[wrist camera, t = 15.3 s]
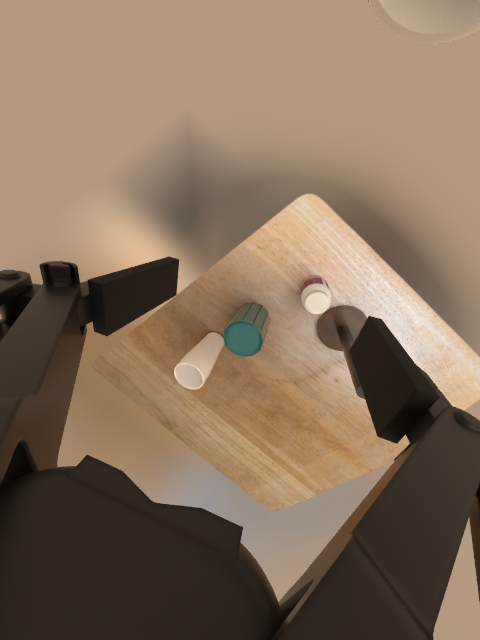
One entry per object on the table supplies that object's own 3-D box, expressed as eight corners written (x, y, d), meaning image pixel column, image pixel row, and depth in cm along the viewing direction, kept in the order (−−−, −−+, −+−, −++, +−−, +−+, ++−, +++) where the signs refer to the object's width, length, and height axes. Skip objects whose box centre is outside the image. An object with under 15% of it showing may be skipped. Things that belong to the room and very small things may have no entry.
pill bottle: (296, 293, 46) (294, 309, 38) (308, 270, 44) (310, 282, 35) (319, 304, 46) (323, 323, 37) (333, 281, 43) (340, 296, 35)
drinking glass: (198, 337, 58) (167, 371, 44) (215, 323, 54) (187, 356, 41) (215, 355, 59) (189, 394, 45) (232, 343, 55) (211, 381, 42)
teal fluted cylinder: (240, 298, 50) (227, 315, 41) (274, 309, 49) (267, 328, 40) (233, 327, 54) (220, 348, 45) (264, 338, 52) (256, 361, 44)
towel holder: (328, 299, 45) (345, 350, 27) (377, 314, 44) (428, 377, 26) (310, 339, 50) (315, 404, 32) (354, 353, 48) (384, 429, 31)
